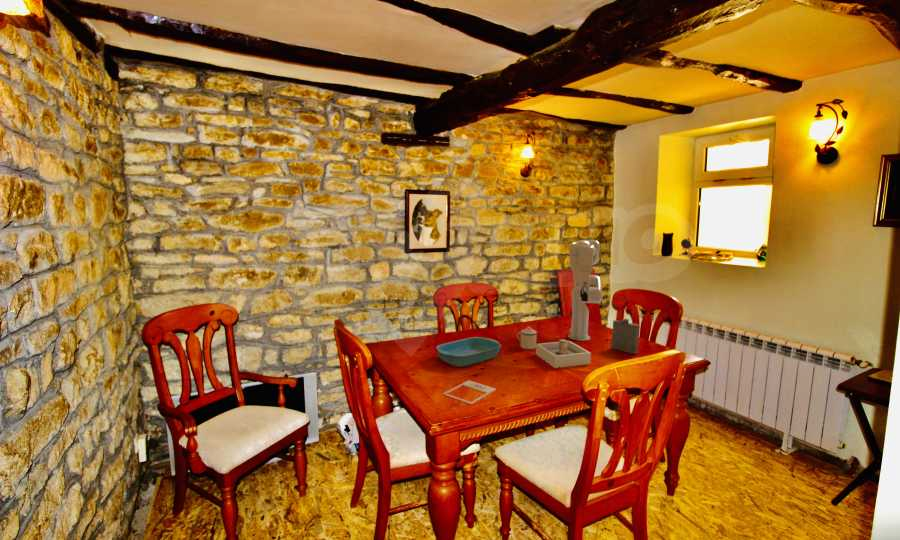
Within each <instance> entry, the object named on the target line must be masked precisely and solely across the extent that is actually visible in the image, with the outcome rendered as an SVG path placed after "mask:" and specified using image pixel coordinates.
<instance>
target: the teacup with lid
mask: <svg viewBox="0 0 900 540" xmlns="http://www.w3.org/2000/svg"><path fill="white" fill-rule="evenodd" d="M537 336H538V332H537V330H535V329H533V328H531V326H527V327H526V328H524V329H521V331H520V332H518V333H517V334H516V337H517V339H518V341H519V342H520V347H521V348H522V349H525V350H536V344H537Z"/></svg>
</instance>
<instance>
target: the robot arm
mask: <svg viewBox="0 0 900 540" xmlns="http://www.w3.org/2000/svg"><path fill="white" fill-rule="evenodd" d="M600 252H601V244H600V242H599V241H598V240H596V239H580V240H577V241H576V242H572V243H570V244H569V246H568V253H569V254H568V255H569V256H568V261H569V266H570V269H571V271H572V273H573V274H572V275H573V276H572V277H573V286H574V287H573V288H572V289H571V301H572V304H571V305H572V308H571V312H572V313H571V328H569V331H570V333H569V334H568V339H570V340H573V341H578V342H585V341H590V340H591V336H590V335H589V333H588V331H589V316H590V315H589V313H590V311H589V308H588V306H587V305H586V304H600V303H601V302H602V300H603V286H602V281H601V278H600V276H599V275H597V274H591V273H592V272H593V271H594V269H593V268H594V265H596V264H598V262H599V258H600V257H599V256H600Z"/></svg>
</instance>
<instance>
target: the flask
mask: <svg viewBox="0 0 900 540" xmlns="http://www.w3.org/2000/svg"><path fill="white" fill-rule="evenodd" d="M629 321H630V319H628V318H622V320H617V319H615V320H612V336H611V349H613V348H614V349H613V350H616V349H618V350H617V351H619V350H622V351H621V352H623V351H626V352H625V353H627V352H629V354H632V353H633V355H638V351H639V350H638V349H639V338H640V337H639V336H640V324H636V323H629Z"/></svg>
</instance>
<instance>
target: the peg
mask: <svg viewBox="0 0 900 540" xmlns="http://www.w3.org/2000/svg"><path fill="white" fill-rule="evenodd" d="M567 341H568V340H566V339H559V341H558V342H559V355H567Z"/></svg>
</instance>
